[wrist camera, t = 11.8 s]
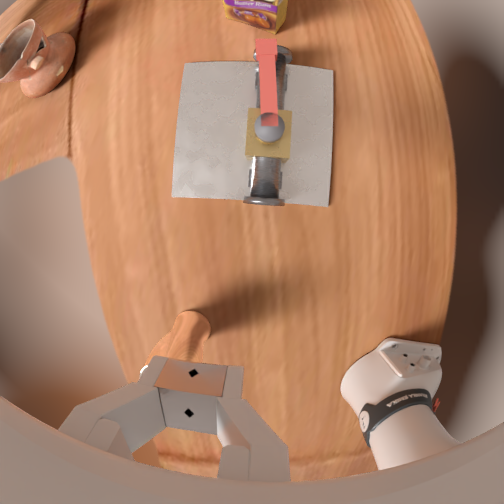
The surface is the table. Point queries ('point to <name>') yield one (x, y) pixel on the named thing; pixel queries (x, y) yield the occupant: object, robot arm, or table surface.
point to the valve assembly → (253, 134)
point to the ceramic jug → (35, 58)
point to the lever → (268, 93)
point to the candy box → (257, 13)
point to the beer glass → (183, 339)
